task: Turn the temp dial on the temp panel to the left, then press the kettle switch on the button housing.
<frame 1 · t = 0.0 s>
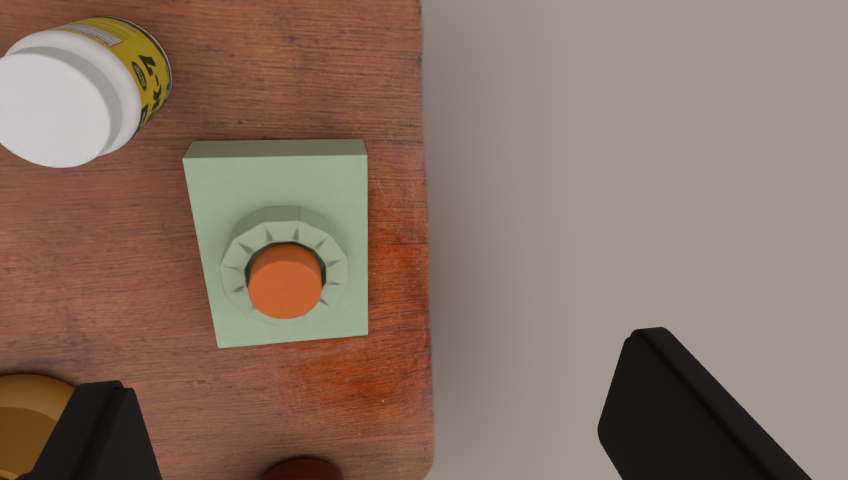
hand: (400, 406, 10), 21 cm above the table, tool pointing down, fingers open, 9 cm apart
kettle switch: (285, 281, 26), point 5 cm above the table, slide at 0.2 cm
ornamental finial: (36, 407, 33), on the table
supplement bottle: (122, 67, 25), on the table
mug: (284, 473, 41), on the table
button housing: (288, 235, 31), on the table
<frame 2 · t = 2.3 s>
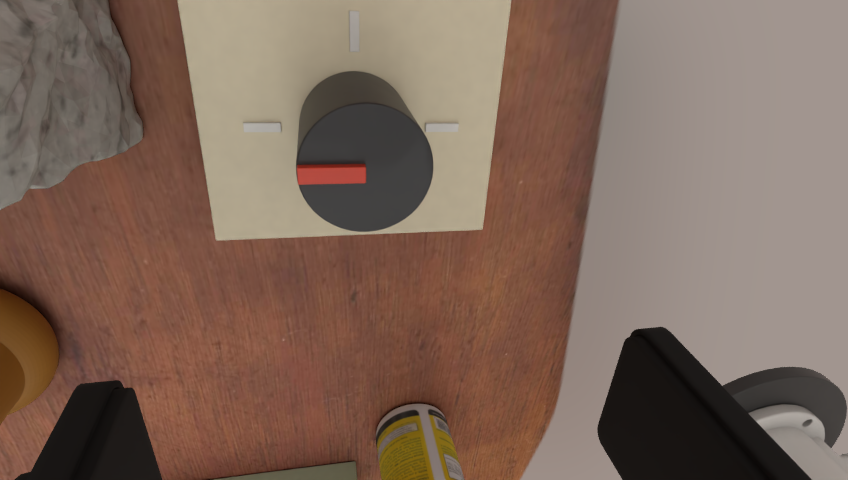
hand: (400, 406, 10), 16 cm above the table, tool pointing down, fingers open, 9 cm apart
supplement bottle: (410, 424, 33), on the table
temp panel: (350, 110, 23), on the table
temp dial: (360, 148, 18), point 5 cm above the table, hinge at 0.0°
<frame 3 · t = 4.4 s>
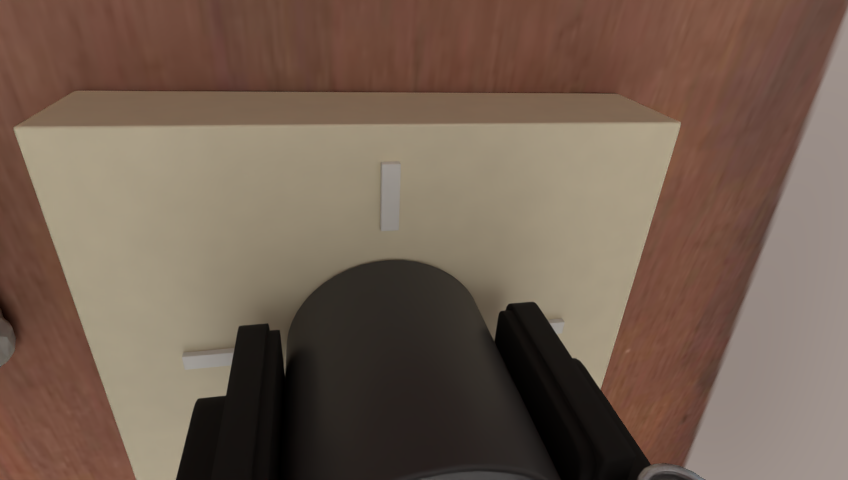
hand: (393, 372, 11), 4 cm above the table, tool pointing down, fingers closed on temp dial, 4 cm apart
temp panel: (374, 279, 14), on the table
temp dial: (406, 436, 9), point 5 cm above the table, hinge at 0.1°, touching gripper
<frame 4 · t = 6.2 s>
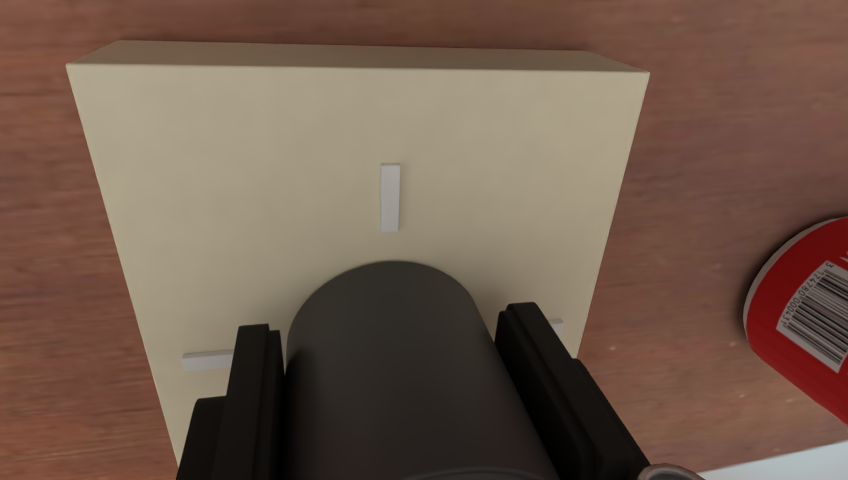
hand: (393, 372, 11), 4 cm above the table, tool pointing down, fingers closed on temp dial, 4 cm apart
temp panel: (373, 280, 14), on the table
temp dial: (406, 438, 9), point 5 cm above the table, hinge at 90.0°, touching gripper
beverage can: (809, 271, 17), on the table
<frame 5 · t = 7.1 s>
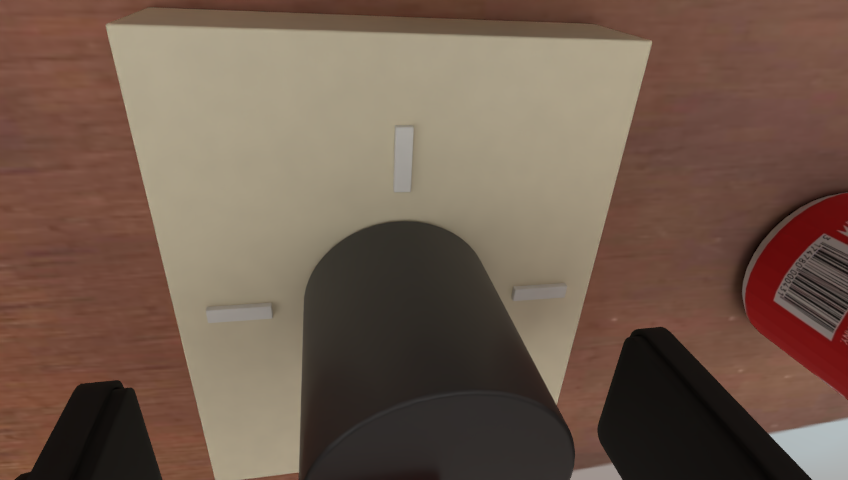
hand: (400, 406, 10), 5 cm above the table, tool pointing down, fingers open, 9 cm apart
temp panel: (385, 246, 14), on the table
temp dial: (417, 382, 10), point 5 cm above the table, hinge at 88.7°
beverage can: (808, 247, 18), on the table
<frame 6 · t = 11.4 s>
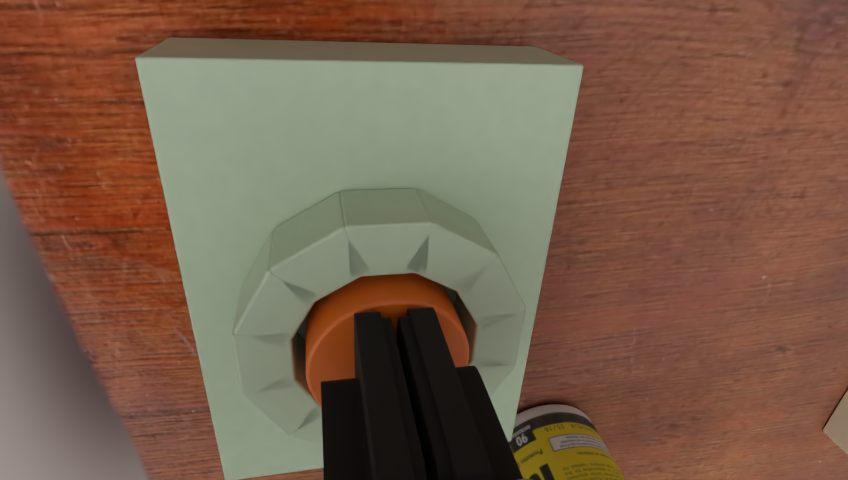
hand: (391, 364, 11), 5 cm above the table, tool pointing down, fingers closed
kettle switch: (385, 343, 12), point 4 cm above the table, slide at -0.7 cm, touching gripper
supplement bottle: (534, 437, 21), on the table
button housing: (366, 252, 15), on the table
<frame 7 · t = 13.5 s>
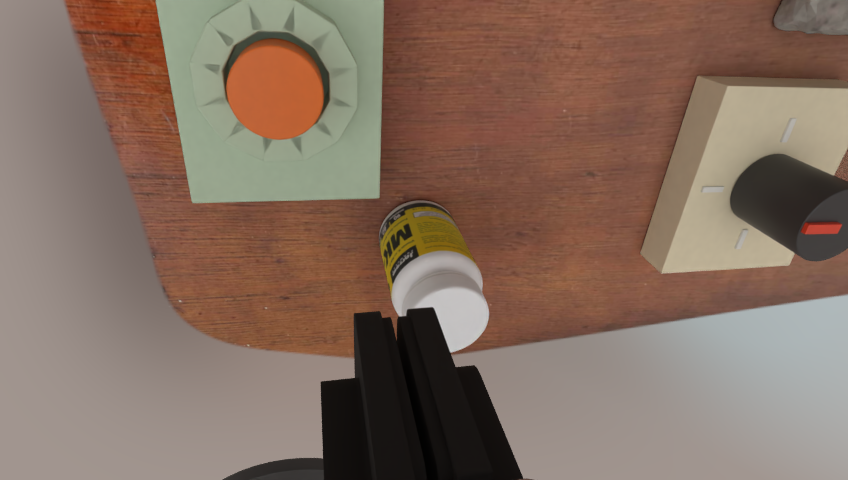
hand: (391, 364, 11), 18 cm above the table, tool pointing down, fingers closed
kettle switch: (277, 89, 20), point 5 cm above the table, slide at 0.2 cm
supplement bottle: (415, 232, 31), on the table
temp panel: (733, 171, 33), on the table
temp dial: (798, 206, 29), point 5 cm above the table, hinge at 88.7°
button housing: (282, 64, 24), on the table
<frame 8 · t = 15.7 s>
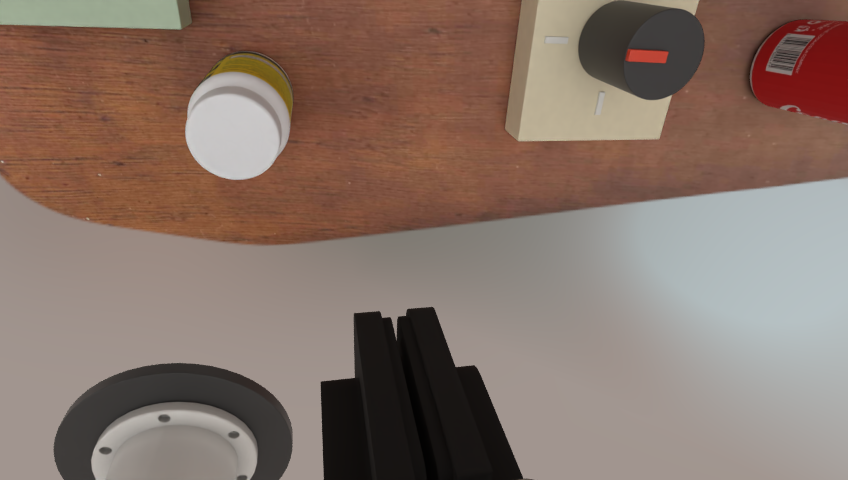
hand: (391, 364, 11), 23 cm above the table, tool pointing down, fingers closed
supplement bottle: (251, 92, 30), on the table
temp panel: (591, 35, 32), on the table
temp dial: (638, 48, 27), point 5 cm above the table, hinge at 88.7°
beverage can: (782, 56, 35), on the table
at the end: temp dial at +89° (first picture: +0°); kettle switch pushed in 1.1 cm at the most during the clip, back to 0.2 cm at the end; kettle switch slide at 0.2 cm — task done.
